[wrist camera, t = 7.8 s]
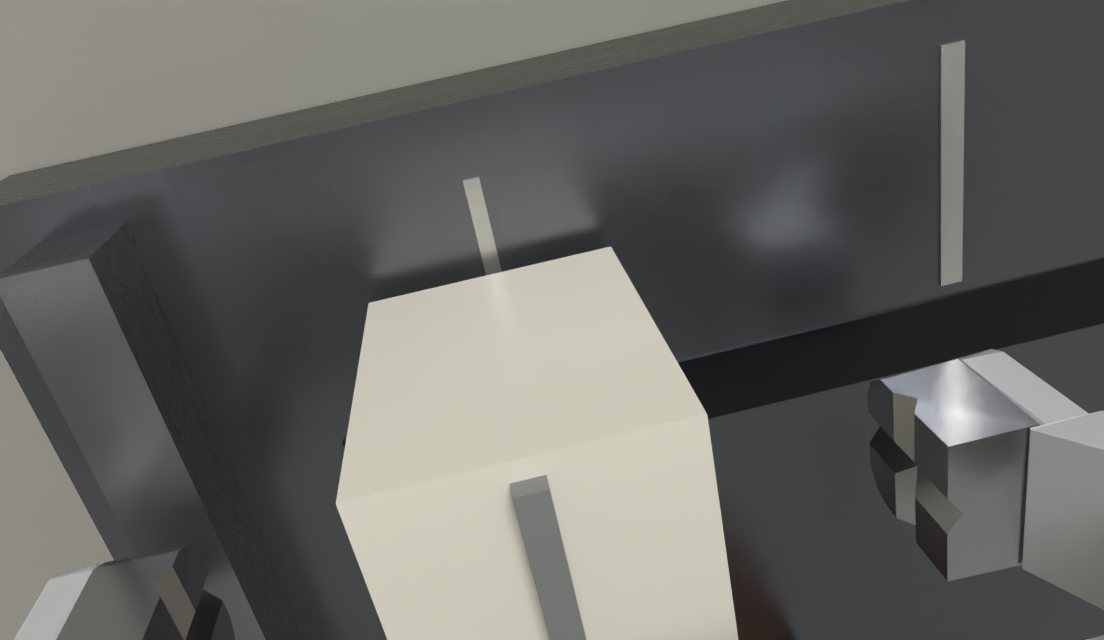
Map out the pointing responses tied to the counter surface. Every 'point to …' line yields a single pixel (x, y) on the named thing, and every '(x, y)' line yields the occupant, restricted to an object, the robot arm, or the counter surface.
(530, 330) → the cream fader
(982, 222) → the console
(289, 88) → the counter surface
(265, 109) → the counter surface
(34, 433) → the counter surface
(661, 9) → the counter surface
